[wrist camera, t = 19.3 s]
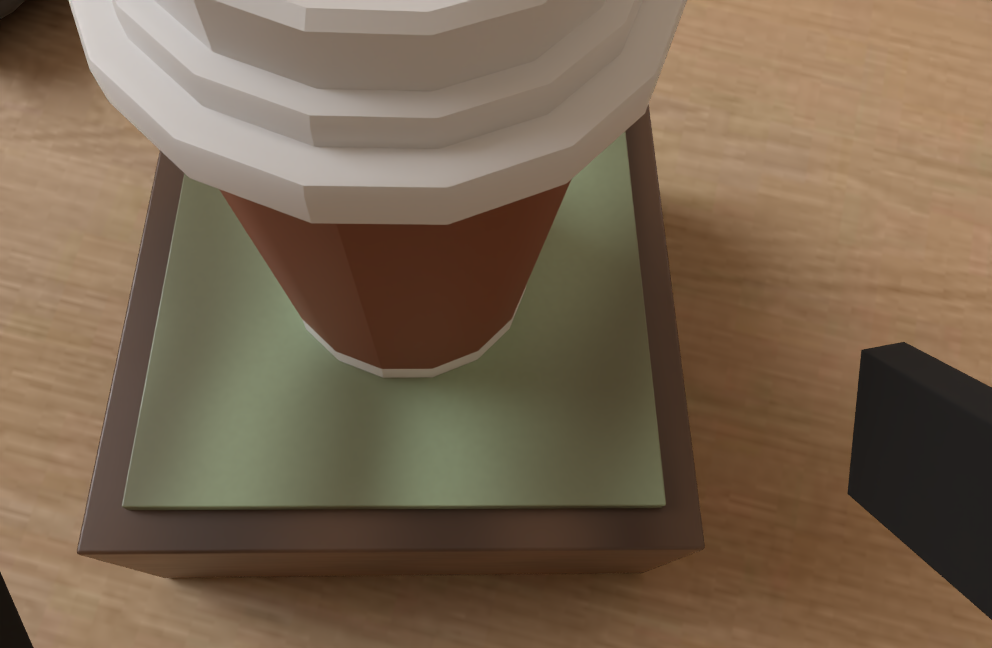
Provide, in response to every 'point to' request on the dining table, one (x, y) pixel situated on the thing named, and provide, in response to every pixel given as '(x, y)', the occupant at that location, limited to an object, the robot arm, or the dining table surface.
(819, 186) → the dining table surface
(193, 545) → the stand
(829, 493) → the dining table surface
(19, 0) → the flashlight
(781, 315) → the dining table surface
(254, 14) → the coffee cup
